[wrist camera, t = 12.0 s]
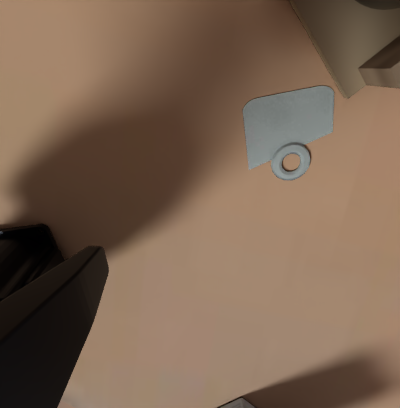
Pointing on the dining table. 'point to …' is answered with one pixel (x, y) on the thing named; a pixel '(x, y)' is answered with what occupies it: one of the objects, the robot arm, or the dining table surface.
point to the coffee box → (238, 404)
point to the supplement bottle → (380, 4)
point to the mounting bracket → (287, 127)
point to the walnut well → (354, 42)
